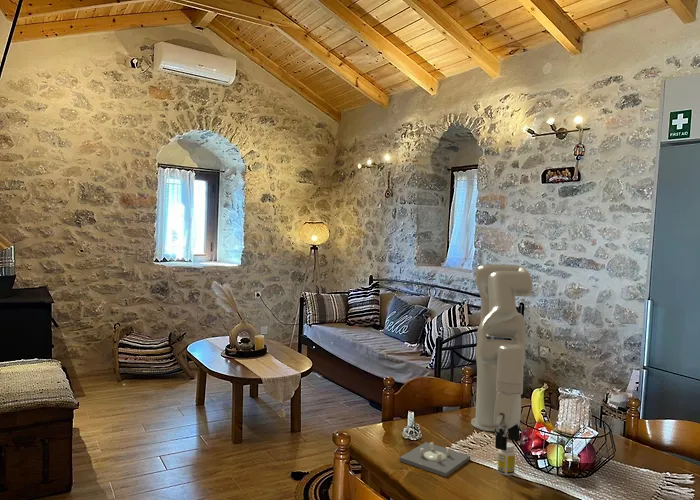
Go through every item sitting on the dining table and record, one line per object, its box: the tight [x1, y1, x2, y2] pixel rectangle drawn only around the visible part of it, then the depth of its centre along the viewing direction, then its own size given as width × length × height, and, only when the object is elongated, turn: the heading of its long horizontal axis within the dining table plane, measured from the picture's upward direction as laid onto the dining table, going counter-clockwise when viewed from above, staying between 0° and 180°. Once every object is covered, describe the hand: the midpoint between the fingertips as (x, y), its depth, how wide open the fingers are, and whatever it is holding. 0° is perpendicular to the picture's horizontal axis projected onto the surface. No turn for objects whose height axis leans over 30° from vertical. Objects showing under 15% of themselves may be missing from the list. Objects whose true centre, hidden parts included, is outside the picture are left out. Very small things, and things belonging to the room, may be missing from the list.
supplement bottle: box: [497, 441, 516, 476], centre depth 159 cm, size 5×5×8 cm
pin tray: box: [399, 441, 471, 478], centre depth 166 cm, size 16×16×4 cm
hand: (507, 444), depth 158 cm, fingers open, 9 cm apart
